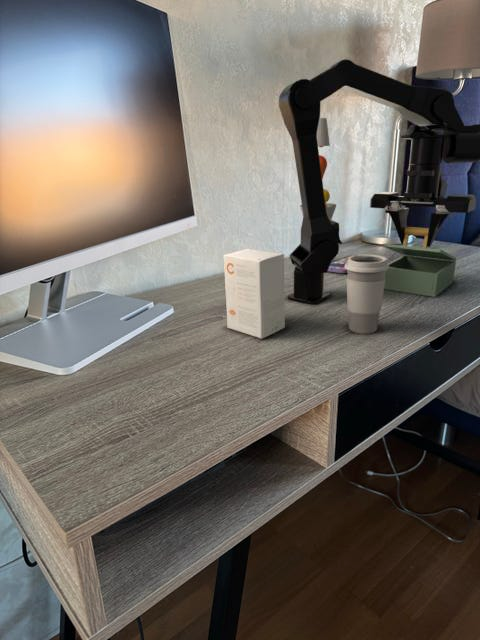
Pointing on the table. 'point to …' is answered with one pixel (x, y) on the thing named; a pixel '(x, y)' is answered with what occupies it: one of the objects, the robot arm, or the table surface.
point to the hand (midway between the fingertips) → (415, 245)
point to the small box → (255, 292)
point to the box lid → (419, 250)
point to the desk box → (419, 275)
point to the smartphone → (339, 265)
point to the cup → (365, 291)
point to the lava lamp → (324, 162)
